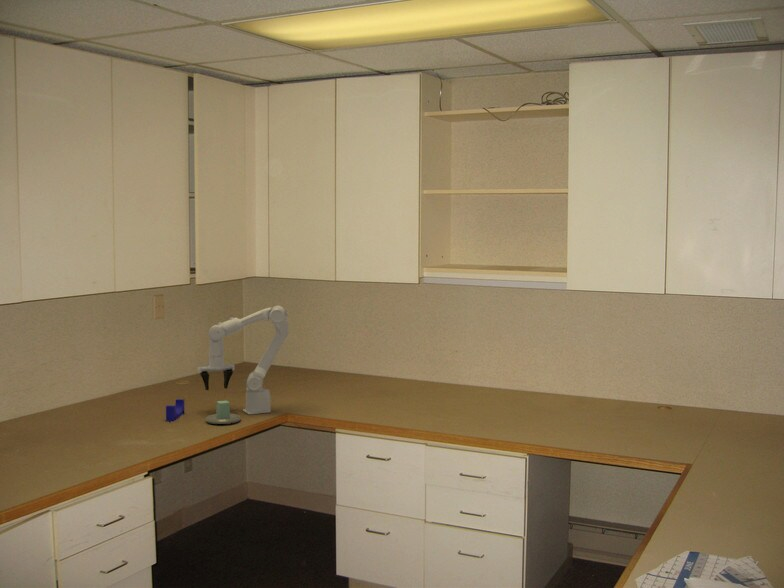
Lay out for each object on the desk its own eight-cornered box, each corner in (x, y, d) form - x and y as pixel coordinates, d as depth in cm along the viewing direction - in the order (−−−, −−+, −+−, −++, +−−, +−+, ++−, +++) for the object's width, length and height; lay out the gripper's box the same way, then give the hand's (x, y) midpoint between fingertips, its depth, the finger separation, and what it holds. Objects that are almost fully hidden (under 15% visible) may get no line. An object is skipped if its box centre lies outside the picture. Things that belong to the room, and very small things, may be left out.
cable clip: (173, 413, 317) (173, 398, 317) (184, 414, 317) (184, 399, 316) (162, 421, 305) (162, 406, 305) (173, 421, 305) (173, 406, 304)
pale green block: (226, 415, 309) (226, 400, 309) (229, 418, 306) (229, 402, 305) (216, 416, 307) (216, 401, 307) (219, 419, 304) (219, 403, 303)
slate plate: (234, 415, 315) (234, 411, 315) (245, 423, 304) (245, 419, 304) (201, 419, 309) (201, 415, 309) (211, 427, 298) (211, 423, 298)
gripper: (230, 352, 325) (230, 385, 327) (195, 355, 318) (195, 388, 319) (236, 355, 319) (236, 388, 320) (200, 357, 312) (200, 392, 313)
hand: (216, 389), depth 320 cm, fingers open, 7 cm apart
